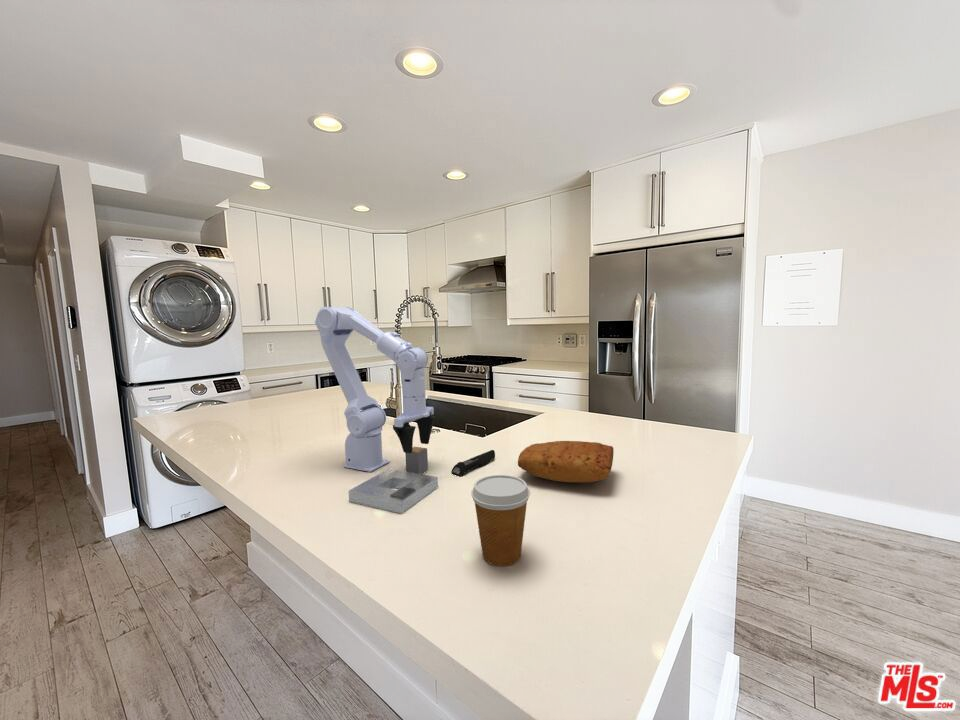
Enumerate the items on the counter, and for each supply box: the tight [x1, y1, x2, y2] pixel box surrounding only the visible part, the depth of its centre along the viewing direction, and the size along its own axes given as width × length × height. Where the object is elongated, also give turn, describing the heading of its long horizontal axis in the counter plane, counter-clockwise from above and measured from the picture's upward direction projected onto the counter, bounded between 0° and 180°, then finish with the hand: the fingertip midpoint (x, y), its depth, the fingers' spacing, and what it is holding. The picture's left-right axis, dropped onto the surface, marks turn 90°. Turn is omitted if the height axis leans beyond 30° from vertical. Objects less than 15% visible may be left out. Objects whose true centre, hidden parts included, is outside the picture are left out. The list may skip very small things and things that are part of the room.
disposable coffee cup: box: [471, 474, 531, 567], centre depth 65 cm, size 10×10×12 cm
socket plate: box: [348, 467, 439, 515], centre depth 90 cm, size 14×14×3 cm
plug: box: [404, 446, 429, 474], centre depth 103 cm, size 4×4×6 cm
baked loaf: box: [517, 440, 614, 483], centre depth 97 cm, size 22×17×8 cm
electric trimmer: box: [451, 449, 496, 478], centre depth 106 cm, size 4×16×3 cm, turn 140°
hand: (416, 447), depth 102 cm, fingers open, 7 cm apart
